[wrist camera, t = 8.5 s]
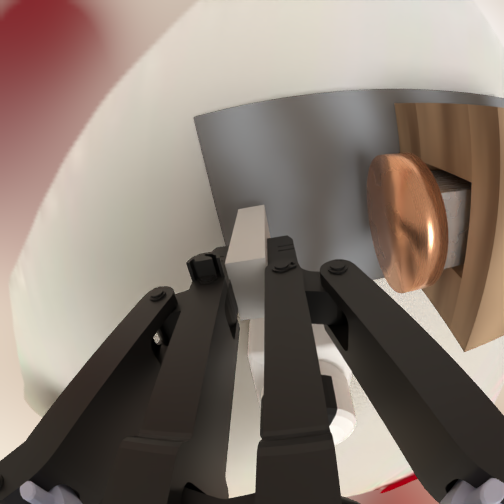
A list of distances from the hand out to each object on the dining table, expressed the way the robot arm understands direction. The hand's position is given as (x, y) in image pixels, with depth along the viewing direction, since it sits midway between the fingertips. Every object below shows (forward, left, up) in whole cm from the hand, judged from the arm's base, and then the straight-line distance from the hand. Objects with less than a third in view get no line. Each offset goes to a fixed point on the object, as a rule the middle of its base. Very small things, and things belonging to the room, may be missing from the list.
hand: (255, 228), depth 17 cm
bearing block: (+10, 0, -4) cm, 11 cm away
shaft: (+16, 0, -1) cm, 16 cm away
